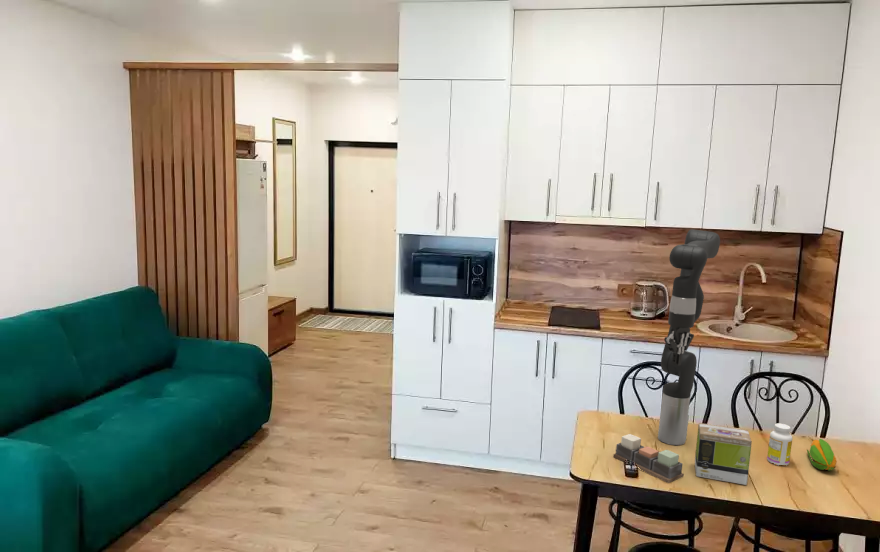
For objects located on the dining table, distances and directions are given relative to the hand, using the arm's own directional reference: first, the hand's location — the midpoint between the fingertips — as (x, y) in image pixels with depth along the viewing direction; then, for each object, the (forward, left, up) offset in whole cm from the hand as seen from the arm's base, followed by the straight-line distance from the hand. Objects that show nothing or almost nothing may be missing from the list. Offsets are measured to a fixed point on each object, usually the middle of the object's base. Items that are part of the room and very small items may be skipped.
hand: (676, 364), depth 203 cm
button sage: (+4, +3, -32) cm, 32 cm away
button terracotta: (+4, -4, -33) cm, 34 cm away
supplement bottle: (-38, +18, -35) cm, 55 cm away
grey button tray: (+3, -4, -35) cm, 35 cm away
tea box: (-12, +12, -35) cm, 39 cm away
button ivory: (+3, -11, -32) cm, 34 cm away
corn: (-50, +26, -35) cm, 67 cm away
